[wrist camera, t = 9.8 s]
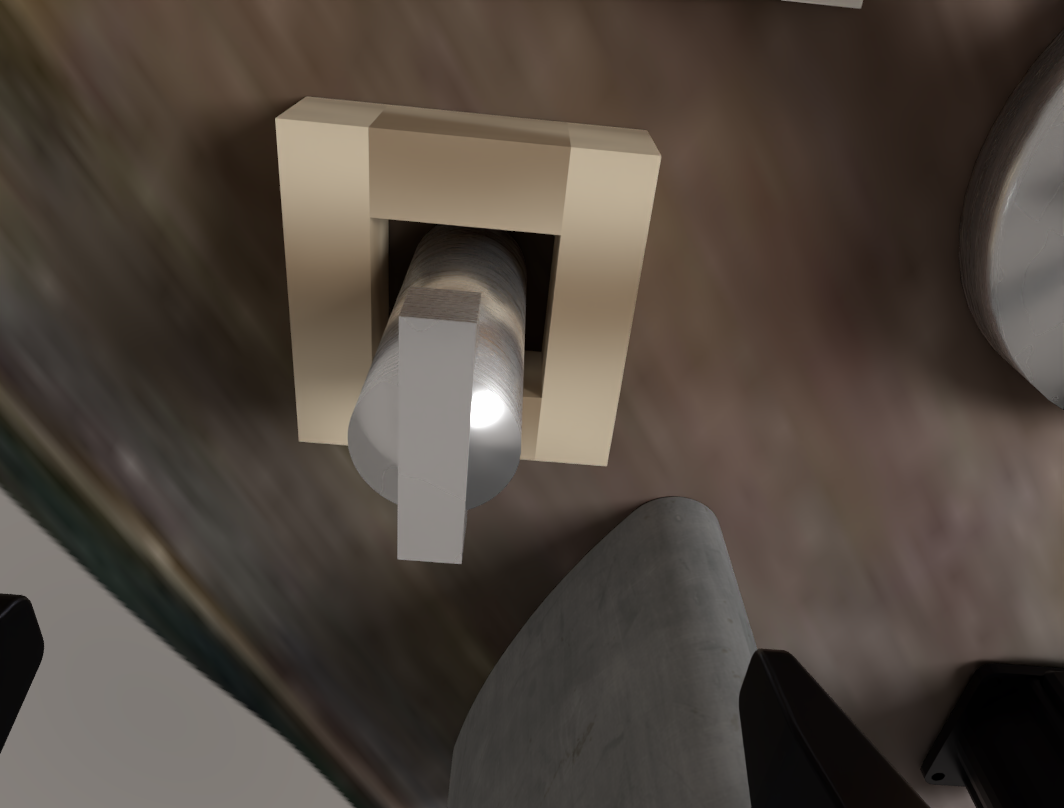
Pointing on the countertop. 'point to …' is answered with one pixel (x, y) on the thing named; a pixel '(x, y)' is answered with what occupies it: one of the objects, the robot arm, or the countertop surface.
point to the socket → (474, 201)
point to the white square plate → (834, 2)
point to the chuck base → (1021, 229)
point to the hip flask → (620, 680)
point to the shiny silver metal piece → (446, 389)
